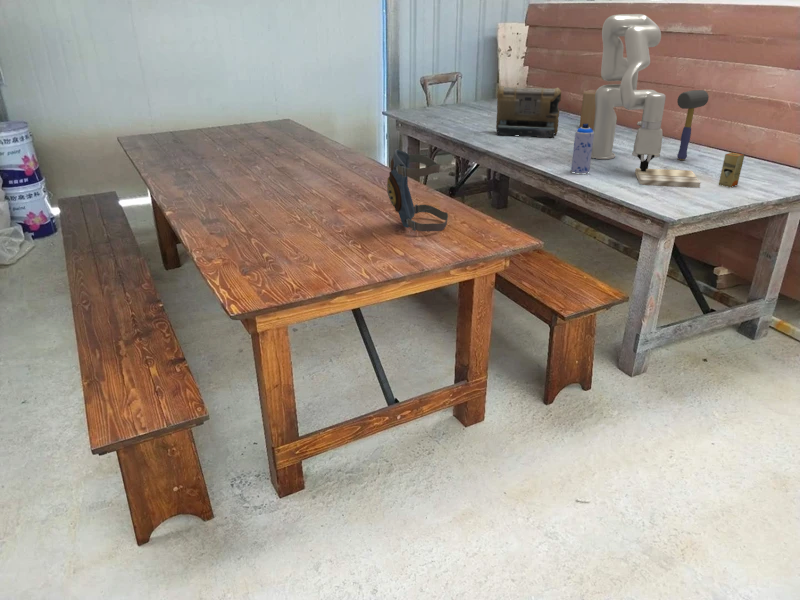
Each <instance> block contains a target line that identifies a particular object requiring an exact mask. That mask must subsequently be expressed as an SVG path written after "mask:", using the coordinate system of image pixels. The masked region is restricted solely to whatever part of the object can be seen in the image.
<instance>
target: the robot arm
mask: <svg viewBox="0 0 800 600" xmlns="http://www.w3.org/2000/svg"><path fill="white" fill-rule="evenodd" d="M602 24H603V25H602V29H601V39H602V47H603V48H602V58H601V69H600V76H601V79H602V80H603V81H606V82H620V83H618V84H617V83H614V84H612V83H611V84H610V83H609V84H604V85H601V86H599V87H598V88H597V89H596V90H597V91H596V93H595V105H596V109H595V120H594V128H593V131H594V138H593V146H592V153H591V159H594V158H596V160H612V159H614V158H616V154H615V153H614V152H613V148H614V141H615V134H616V126H617V118H618V117H617V113H616V112H615V109H614V108H616V107H623V108H624V109H625V110H628V111H630V110H632V111H635V110H642V115H641V116H642V117H641V120H640V121H637V123H636V126H639V128H637V131H636V135H635V139H634V143H633V151H632V153H631V155H632V156H633V157H635V158H638V159H639V160H640V164H639V168H640V169H641V171H646V169H649V163H650V161H652V160H653V159H654V158H659V157H660V156H661V152H662V151H661V150H662V143H663V129H662V120H663V115H664V110H665V103H666V97H667V96H666V94H664V93H663V92H658V91H656V90H655V89H637V87H638V78H639V72H640V71H642V70H645V69H646V68H648V67H649V66H650V64H651V56H650V49H649V48H654V47H657V46H658V45H659V44H660V42H661V40H662V32H661V28H660V27H659V25H658V24H656V22H655V21H654V20H652V19H651V18H650V17H649V16H647V15H646V14H643V13H632V14H631V13H627V14H626V13H625V14H624V13H623V14H621V13H620V14H613V15H610V16H608V17H607V18H606V19H605V20H604V22H603V23H602ZM620 37H624V43H623V41H622V39H621V38H620ZM624 44H625V47H624ZM624 49H625V52H626V53H625V54H626V57H624ZM645 156H646V158H645Z"/></svg>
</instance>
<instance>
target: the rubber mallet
mask: <svg viewBox="0 0 800 600" xmlns="http://www.w3.org/2000/svg"><path fill="white" fill-rule="evenodd" d="M709 98H710V97H709V94H708V92H707V91H706V90H704V89H699V90H697V89H696V90H688V91H684V92H681V93H680V94H679V95H678V97H677V106H678V107H679V108H680V109H683V110H685V109H688V110H687V114H686V117H685V118H686V119H685V123H684V127H683V129H682V132H681V136H680V145H679V149H678V153H677V160H678V161H679V160H680V161H685V160H686V159H687V158H688V148H689V143H690V139H691V135H692V123H693V117H694V112H695V109H697V108H700V107H701V108H702V107H704V106H706V105H707V104H708V102H709Z"/></svg>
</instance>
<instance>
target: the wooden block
mask: <svg viewBox="0 0 800 600" xmlns="http://www.w3.org/2000/svg"><path fill="white" fill-rule="evenodd" d="M596 91H597V89H588V90H585V91H583V95H582V103H581V109H580V110H581V112H580V120H579V128H581V127H583V124H589V125H588V127H590V128H591V129H592V130H593V128H594V120H595V109H596V105H595V93H596Z"/></svg>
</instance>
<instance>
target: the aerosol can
mask: <svg viewBox="0 0 800 600" xmlns="http://www.w3.org/2000/svg"><path fill="white" fill-rule="evenodd" d="M588 125H589V124H583V127H581V128H580V127H578V128H577V129H576V130H575V133H574V135H575V136H574V142H573V150H572V159H571V161H572V162H571V167H570V168H571V169H570V172H571V171H572V172H575V173H588V172H589V171H590V169H591V160H592V158H591V153H592V146H593V138H594V131H593V130H592V129H591V128H590V127H588Z"/></svg>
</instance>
